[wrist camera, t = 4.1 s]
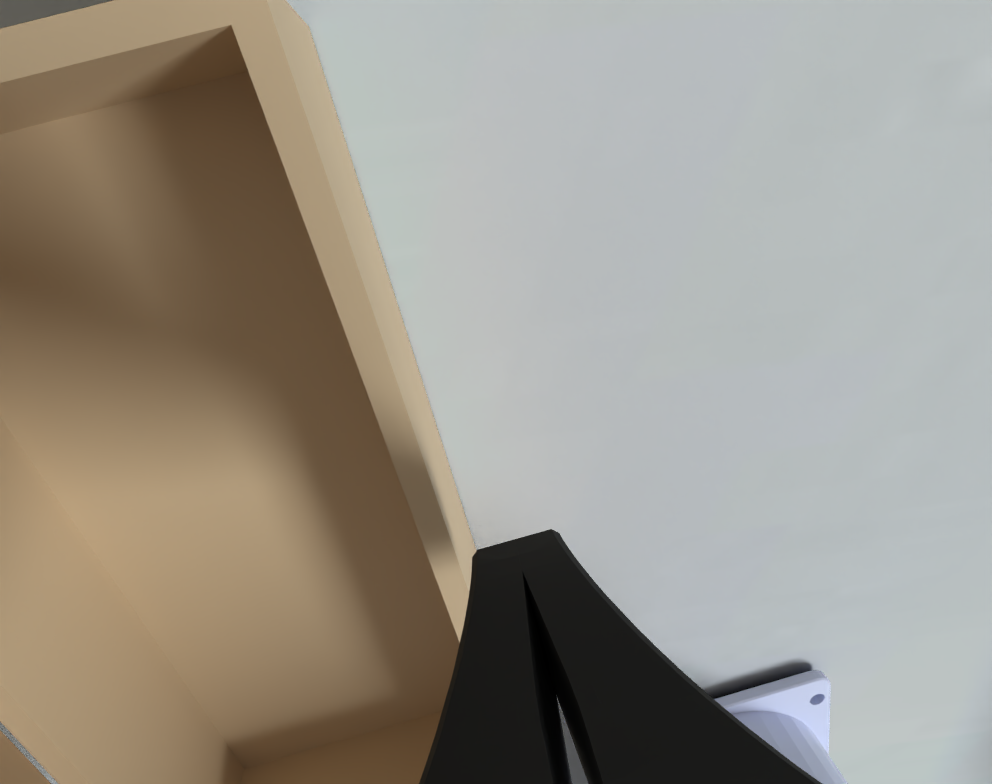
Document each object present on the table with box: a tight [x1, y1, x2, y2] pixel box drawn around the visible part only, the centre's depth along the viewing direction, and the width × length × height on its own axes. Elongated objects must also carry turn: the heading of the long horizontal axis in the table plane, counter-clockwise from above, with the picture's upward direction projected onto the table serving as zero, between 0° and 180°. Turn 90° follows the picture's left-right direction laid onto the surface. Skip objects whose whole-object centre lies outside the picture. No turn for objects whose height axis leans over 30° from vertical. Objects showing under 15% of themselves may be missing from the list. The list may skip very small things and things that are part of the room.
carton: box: [0, 0, 476, 784], centre depth 12 cm, size 18×9×4 cm, turn 13°
